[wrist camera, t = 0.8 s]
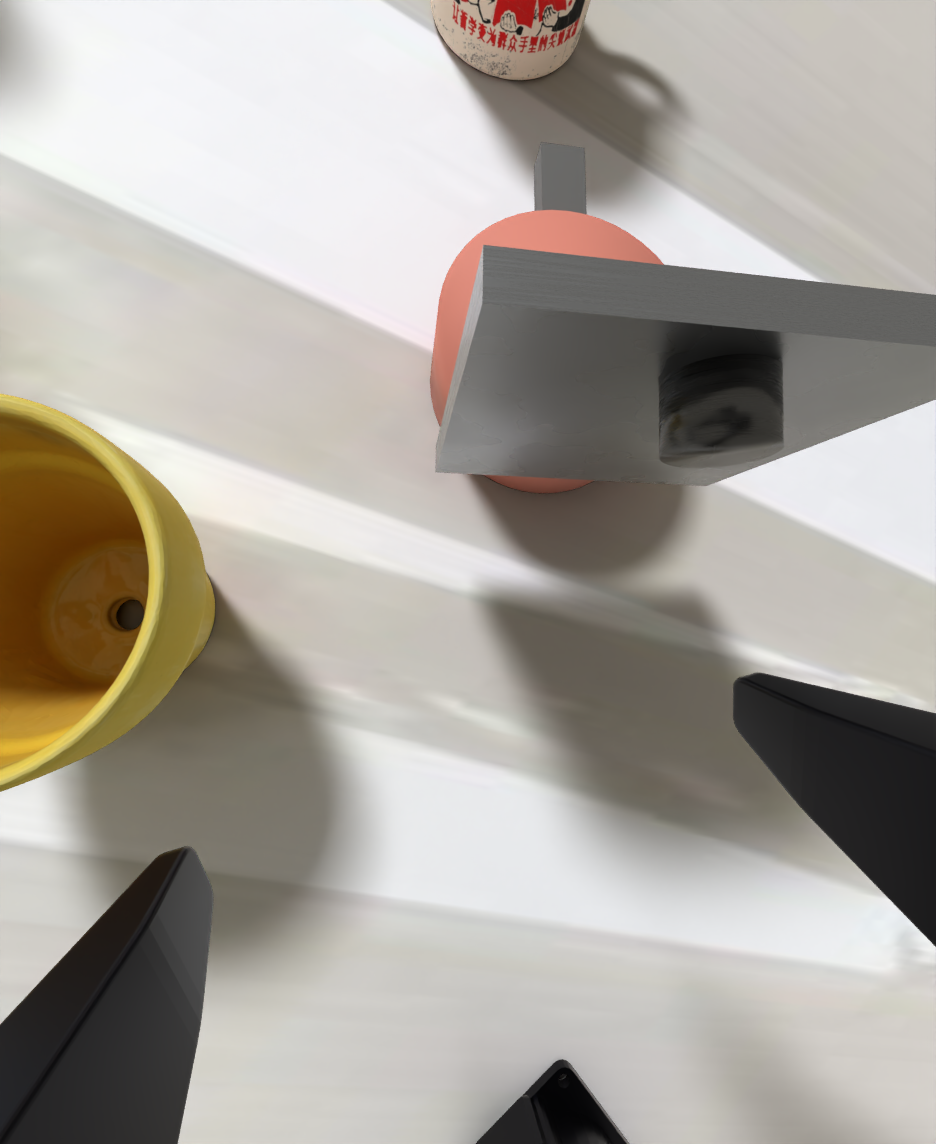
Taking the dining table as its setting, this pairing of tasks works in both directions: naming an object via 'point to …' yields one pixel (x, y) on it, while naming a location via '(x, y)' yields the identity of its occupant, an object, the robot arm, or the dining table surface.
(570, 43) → the teacup with lid
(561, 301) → the lid
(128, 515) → the plant pot
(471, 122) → the dining table surface
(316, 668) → the dining table surface
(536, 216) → the cooker pot
